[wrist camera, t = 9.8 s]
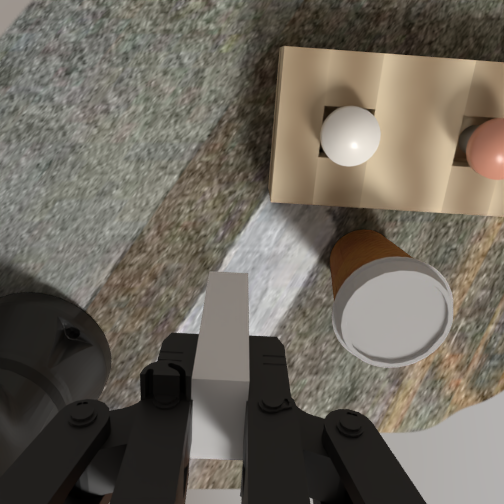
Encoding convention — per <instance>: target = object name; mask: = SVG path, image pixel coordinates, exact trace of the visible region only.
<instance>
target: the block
mask: <svg viewBox="0 0 504 504" xmlns="http://www.w3.org/2000/svg"><path fill="white" fill-rule="evenodd" d="M344 106H357V107H360V108H363V109H365V110H367V111H369V112H370V113H371V114H372V115H373V116H374V117H375V118H376V120H377V121H378V124H379V127H380V132H381V136H380V142H379V145H378V148H377V150H376V151H375V153H374V154H373V155H372V157H371V158H369V159H368V160H367V161H366V162H364V163H362V164H360V165H356V166H342V165H339V164H337V163H335V162H333V161H332V160H331V159H330V158H329V157H328V156H327V155H326V153H325V152H324V150H323V148H322V146H321V142H320V131H321V127H322V125H323V123H324V121H325V119H326V118H327V117H328V115H330V114H331V113H332V112H333V111H334V110H336V109H338V108H340V107H344ZM495 118H504V62H491V61H478V60H464V59H451V58H438V57H424V56H411V55H398V54H384V53H371V52H358V51H344V50H331V49H317V48H304V47H291V46H283V47H280V51H279V63H278V75H277V87H276V99H275V111H274V123H273V135H272V147H271V159H270V171H269V183H268V189H269V194H270V200H271V202H275V203H291V204H308V205H324V206H340V207H356V208H372V209H389V210H405V211H421V212H437V213H453V214H470V215H486V216H502V217H504V179H502V180H493V179H489V178H486V177H484V176H482V175H480V174H478V173H476V172H475V171H474V170H473V169H472V168H471V167H470V166H469V164H468V161H467V158H466V153H464V152H463V151H462V150H461V149H460V147H459V138H460V135H461V133H462V132H463V131H464V130H465V129H466V128H467V127H469V126H472V125H482V124H483V123H485V122H486V121H488V120H491V119H495Z"/></svg>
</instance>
